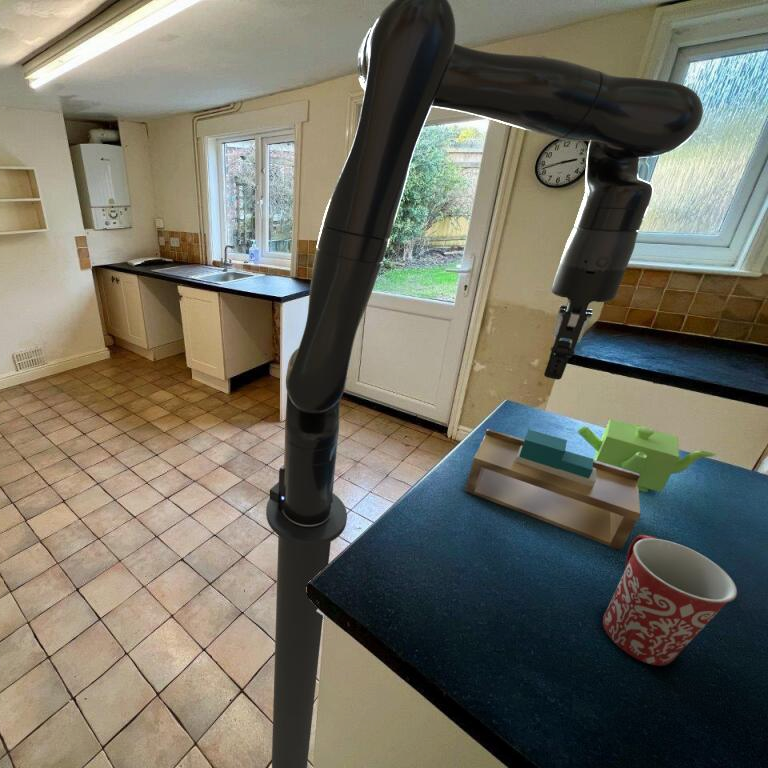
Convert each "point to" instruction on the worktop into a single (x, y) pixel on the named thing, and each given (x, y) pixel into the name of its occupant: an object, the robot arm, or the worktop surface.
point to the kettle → (641, 452)
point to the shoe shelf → (557, 492)
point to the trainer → (555, 458)
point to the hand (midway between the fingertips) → (554, 368)
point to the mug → (664, 599)
